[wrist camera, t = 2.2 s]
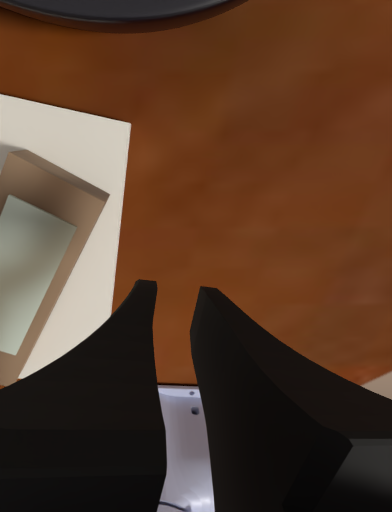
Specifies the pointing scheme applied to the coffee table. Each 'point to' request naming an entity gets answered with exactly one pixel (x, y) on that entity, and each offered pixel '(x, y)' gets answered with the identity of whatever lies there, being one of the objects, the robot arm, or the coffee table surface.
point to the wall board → (106, 228)
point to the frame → (37, 248)
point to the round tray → (121, 13)
